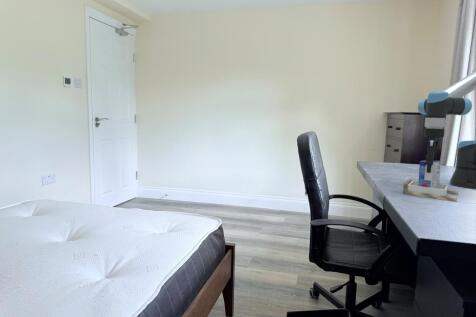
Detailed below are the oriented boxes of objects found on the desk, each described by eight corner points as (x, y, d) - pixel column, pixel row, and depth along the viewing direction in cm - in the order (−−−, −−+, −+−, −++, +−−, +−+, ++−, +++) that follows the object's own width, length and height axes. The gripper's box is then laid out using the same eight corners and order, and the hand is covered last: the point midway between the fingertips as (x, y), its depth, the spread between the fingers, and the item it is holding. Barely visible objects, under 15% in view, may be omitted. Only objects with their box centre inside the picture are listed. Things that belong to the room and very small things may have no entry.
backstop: (457, 194, 144) (459, 184, 143) (456, 201, 131) (458, 190, 130) (408, 188, 155) (409, 178, 155) (402, 193, 142) (403, 183, 141)
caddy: (447, 193, 145) (448, 184, 145) (445, 199, 134) (446, 189, 133) (411, 188, 153) (412, 180, 153) (406, 193, 142) (407, 185, 141)
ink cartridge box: (425, 185, 148) (429, 154, 147) (439, 187, 144) (442, 155, 142) (416, 188, 142) (419, 155, 140) (430, 190, 138) (433, 156, 136)
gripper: (443, 128, 128) (437, 183, 131) (446, 128, 147) (441, 176, 150) (421, 127, 133) (416, 180, 135) (427, 127, 151) (422, 174, 154)
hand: (429, 178), depth 143 cm, fingers closed on ink cartridge box, 10 cm apart
